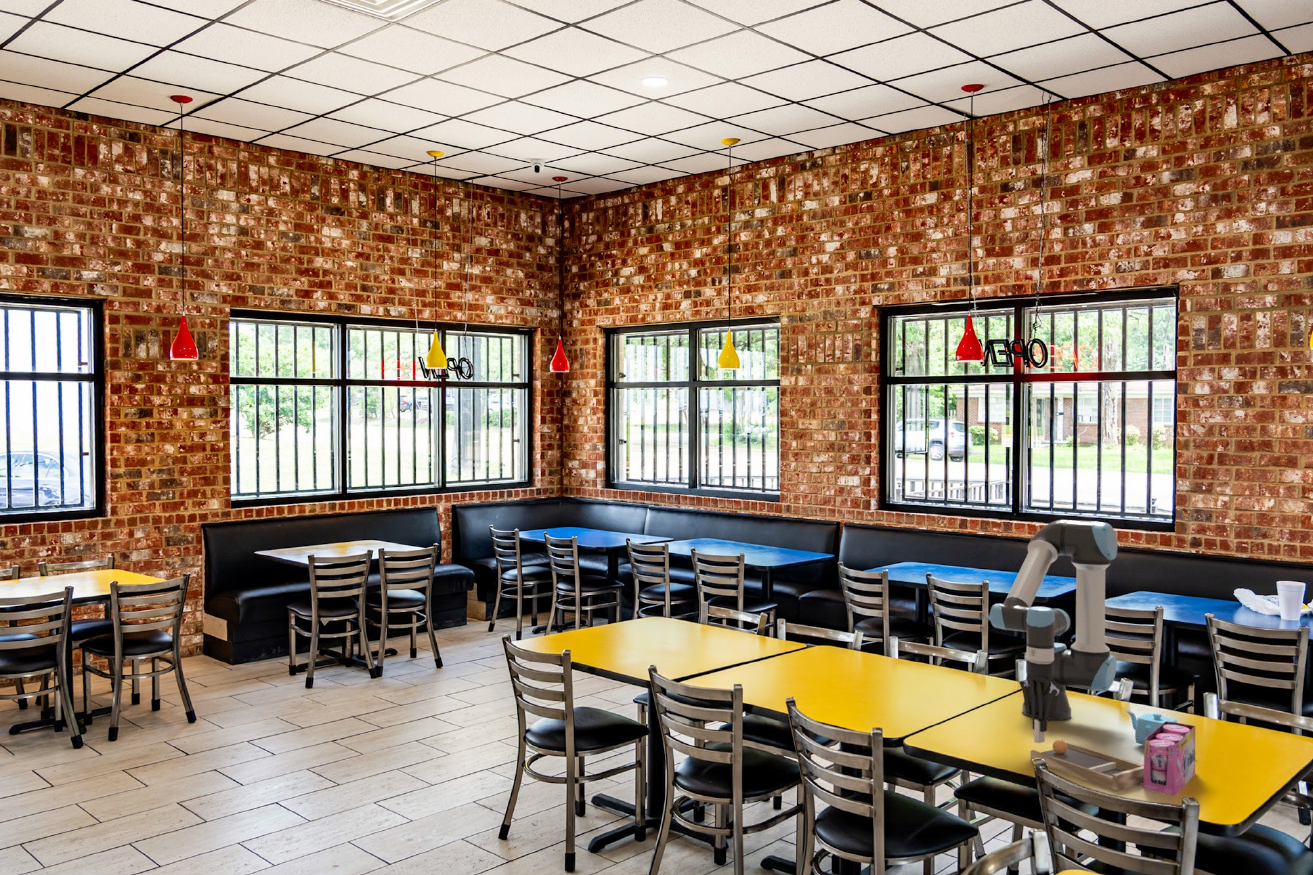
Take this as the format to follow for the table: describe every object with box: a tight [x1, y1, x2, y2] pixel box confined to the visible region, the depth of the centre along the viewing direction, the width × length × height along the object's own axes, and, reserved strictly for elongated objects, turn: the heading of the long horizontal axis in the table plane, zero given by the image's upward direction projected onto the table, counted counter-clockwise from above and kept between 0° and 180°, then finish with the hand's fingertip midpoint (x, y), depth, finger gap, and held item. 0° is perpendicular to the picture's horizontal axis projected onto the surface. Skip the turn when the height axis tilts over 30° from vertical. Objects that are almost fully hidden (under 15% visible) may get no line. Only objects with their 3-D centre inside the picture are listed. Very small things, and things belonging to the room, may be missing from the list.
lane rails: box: [1029, 741, 1144, 792], centre depth 282 cm, size 16×27×4 cm, turn 31°
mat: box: [1040, 748, 1124, 776], centre depth 283 cm, size 14×26×2 cm, turn 31°
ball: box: [1052, 739, 1068, 754], centre depth 291 cm, size 4×4×4 cm
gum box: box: [1142, 721, 1196, 797], centre depth 274 cm, size 24×8×14 cm, turn 140°
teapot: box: [1125, 710, 1178, 749], centre depth 302 cm, size 18×14×10 cm
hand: (1039, 741), depth 297 cm, fingers closed
